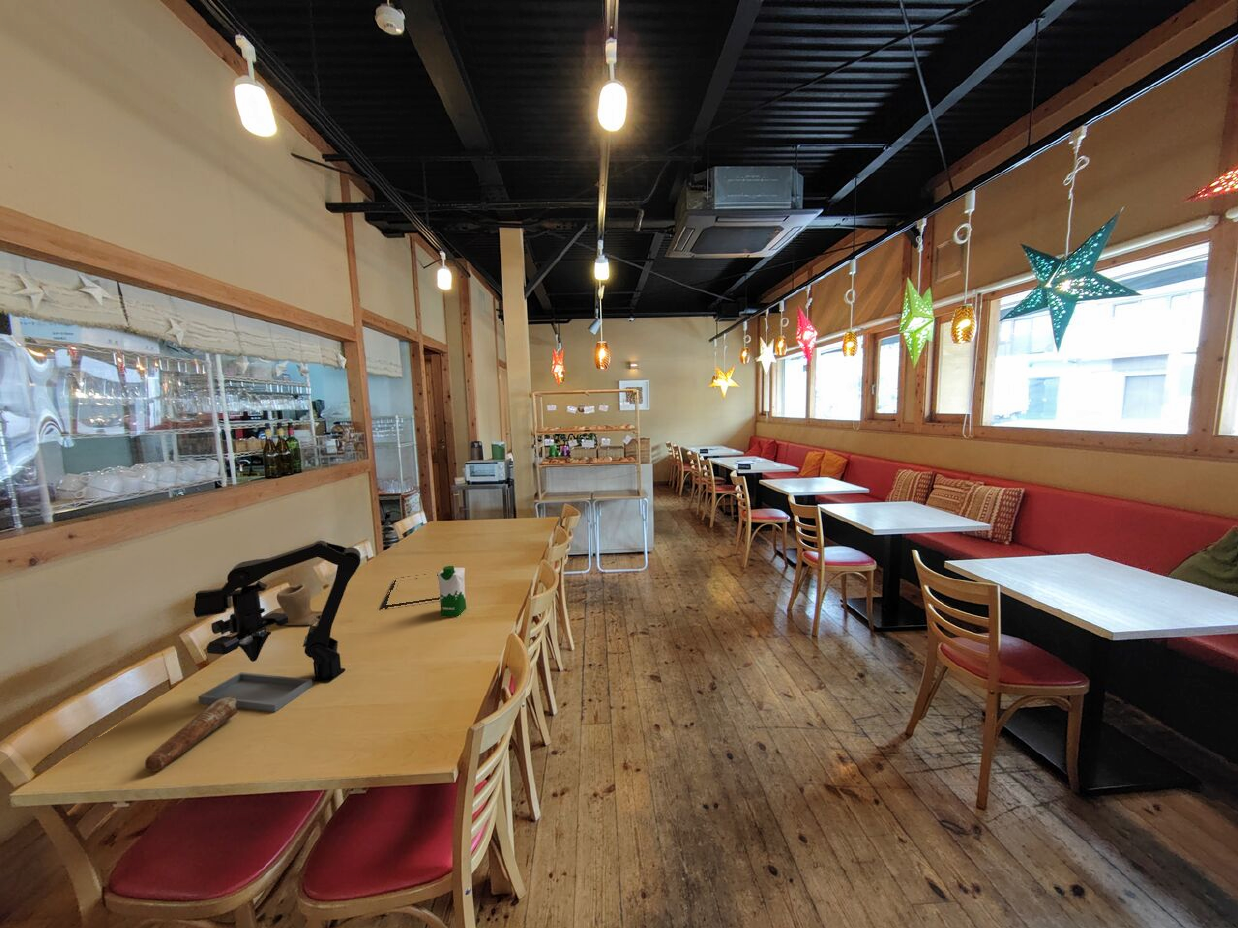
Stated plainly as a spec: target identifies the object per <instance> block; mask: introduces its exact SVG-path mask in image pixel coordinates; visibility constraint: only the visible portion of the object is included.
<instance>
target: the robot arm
mask: <svg viewBox="0 0 1238 928" xmlns="http://www.w3.org/2000/svg"><path fill="white" fill-rule="evenodd" d="M361 555H362V554H361V552H360V550H359V549H357V548H356V547H353V546H351V547H345V546H342V545H339V544H334V543H331V542H327V541H325V540H317V541H315V542H313V543H311V544H307V545H304V546H301V547H298V548H295V549H292V550H289V551H287V552H283V553H281V554H280V553H279V554H278V555H275V556H271V557H268V558H267V557H266V558H259V559H258V558H256V559H251V560H246V561H241V562H239V563H237V564H236V565H235V566H234V567H233V568H232V569H231V570H230V571H229V573H228V574H227V578H226V579H227V582H225V584H223V586H222V587H221V588H215V589H214V588H213V589H208V590H206V589H204V590H198V591H197V592H196V593H195V598H194V599H195V601H194V606H193V613H194V616H195V617H196V618H203V617H209V616H213V615H218V614H224V613H226V612H227V609H231V607H233V613H231V614H230V616H229V619H226V620H223V619H220V620H217V621H215V622H212V623H211V631H212V634H214V635H218V634H219V633H220V635H221V636H220V637H218V638H216V639H214V640H211V641H209V642H208V644H207V645H206V652H207V654H212V655H222V656H224V655H228V654H229V653H231V652H233V651H235V650H238V648H239V647H240V648H241V649H242V651H243V652H244V654H245V655H246V657H248V659H249V661H250V662H253V663H254V662H257V660H258V658H259V656H260V653H262V652H261V651H262V649H263V647H264V646H265V643H266V641H267V640H268V638H269V636H270V635H272V632H271V631H268V630H267V628H269V627H270V626H272V625H276V626H277V627H282V626H285V625H284V624H286V623H288V622H289V620H288V616H287V615H286V613H285V612H283V613H282V612H271V613H269V614H267V615H265V616H263V617H262V614H263V613H265V612H266V609H265V608H264V607H263V608H262V607H261V600H260V599H261V598H260V592H264V591H265V590H266V589H267V587H268V584H267V583H264V582H263V581H260V580H261V579H263V578H265V577H267V576H269V575H270V574H272V573H276V572H278V571H280V570H284V569H287V568H290V567H293V566H295V565H298V564H301V563H304V562H307V561H310V560H313V559H315V558H319V559H322V560H325V561H327V562H328V563H330V564H333V565H336V566H337V567H336V574H335V577H334V580H333V583H332V585H331V588H330V590H329V593H328V596H327V599H326V601H325V604H324V607H323V609H322V614H321V617H320V619H319V621H318V622H317V623H315V624H312V625H309V628H308V631H307V634H306V635H305V636H304V640H303V645H302V647H303V648H304V654H305V655H306V657H308V658H309V659H310V658H311V659H312V660H313V673H314V676H312V677H311V678H310V679H312V681H318V682H326V683H327V682H328V683H329V682H332V681H333V680H334V679H335V678H337V677H338V676H340V675H341V674H342V673H343V672H345V671H346V668H345V667H342V666H341V665H342V664H341V654H340V653H339V652H338V648H339V647H338V645H339V641H338V640H337V639H335V638H333V637H331V631H332V627H333V623H334V620H335V618H336V616H337V613H338V610H339V607H340V605H341V603H342V599H343V597H344V594H345V592H346V589H347V586H348V583H349V582H350V581H351V579H352V577H353V576H354V574H355V573H356V571H357V570H358V568H359V566H360V565H361V559H362V558H361ZM228 632H229V634H234V635H232V636H228V635H225V634H226V633H228Z"/></svg>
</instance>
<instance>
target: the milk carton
mask: <svg viewBox="0 0 1238 928" xmlns="http://www.w3.org/2000/svg"><path fill="white" fill-rule="evenodd" d="M465 569H466V568H465V567H455V566H454V565H446V566H445V567H444V566H443V568H442V570H441V571H440V572H437V573H438V574H437V576H438V580H439V589H440V601H439V602H440V614H441V615H440V616H441V617H442V616H459V615H460V616H462V614H463V613H464V612H465V611H466V610H467V604H466V603H467V602H466V588H465V587H466V586H465V572H466V571H465ZM465 609H466V610H465ZM464 610H465V611H464ZM463 611H464V612H463ZM462 612H463V613H462ZM461 613H462V614H461ZM460 616H459V617H460Z"/></svg>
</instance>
